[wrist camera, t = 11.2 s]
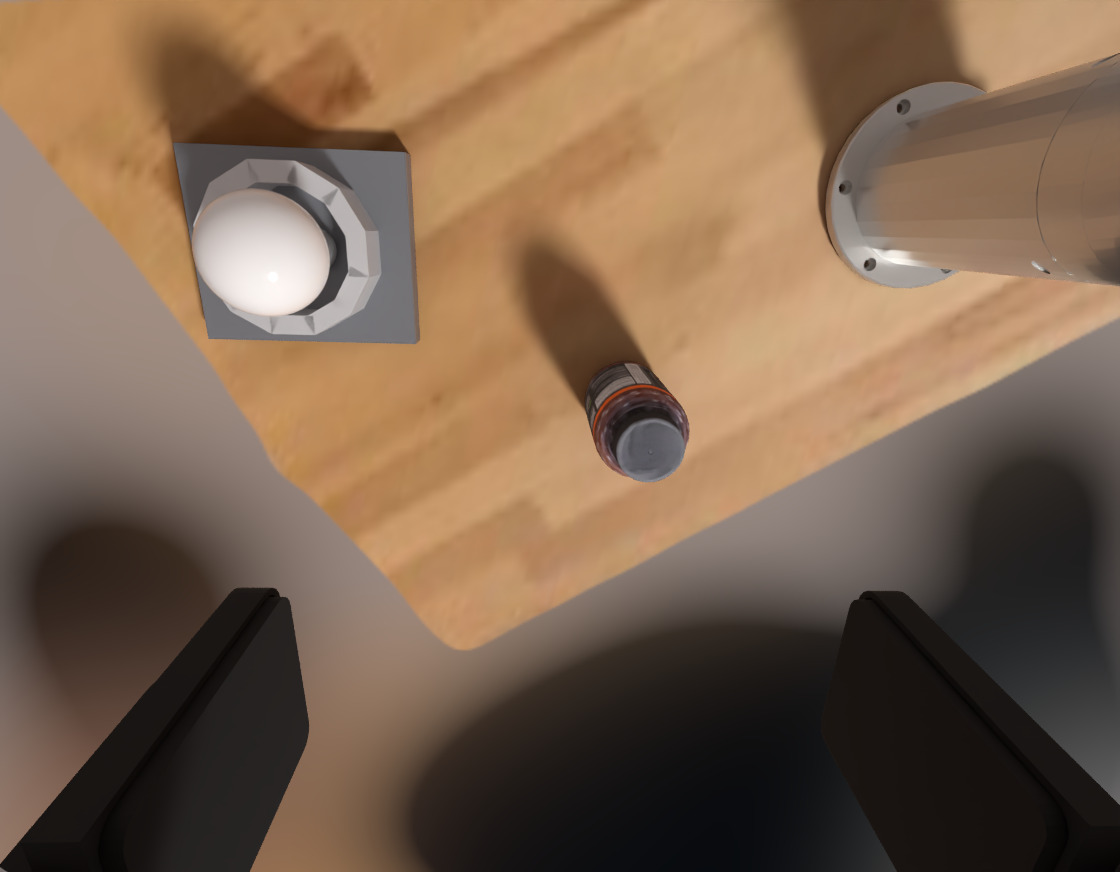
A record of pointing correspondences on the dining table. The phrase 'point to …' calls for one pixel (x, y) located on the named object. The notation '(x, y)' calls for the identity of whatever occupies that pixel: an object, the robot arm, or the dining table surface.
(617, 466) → the supplement bottle
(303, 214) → the lightbulb
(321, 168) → the socket holder
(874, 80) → the dining table surface
